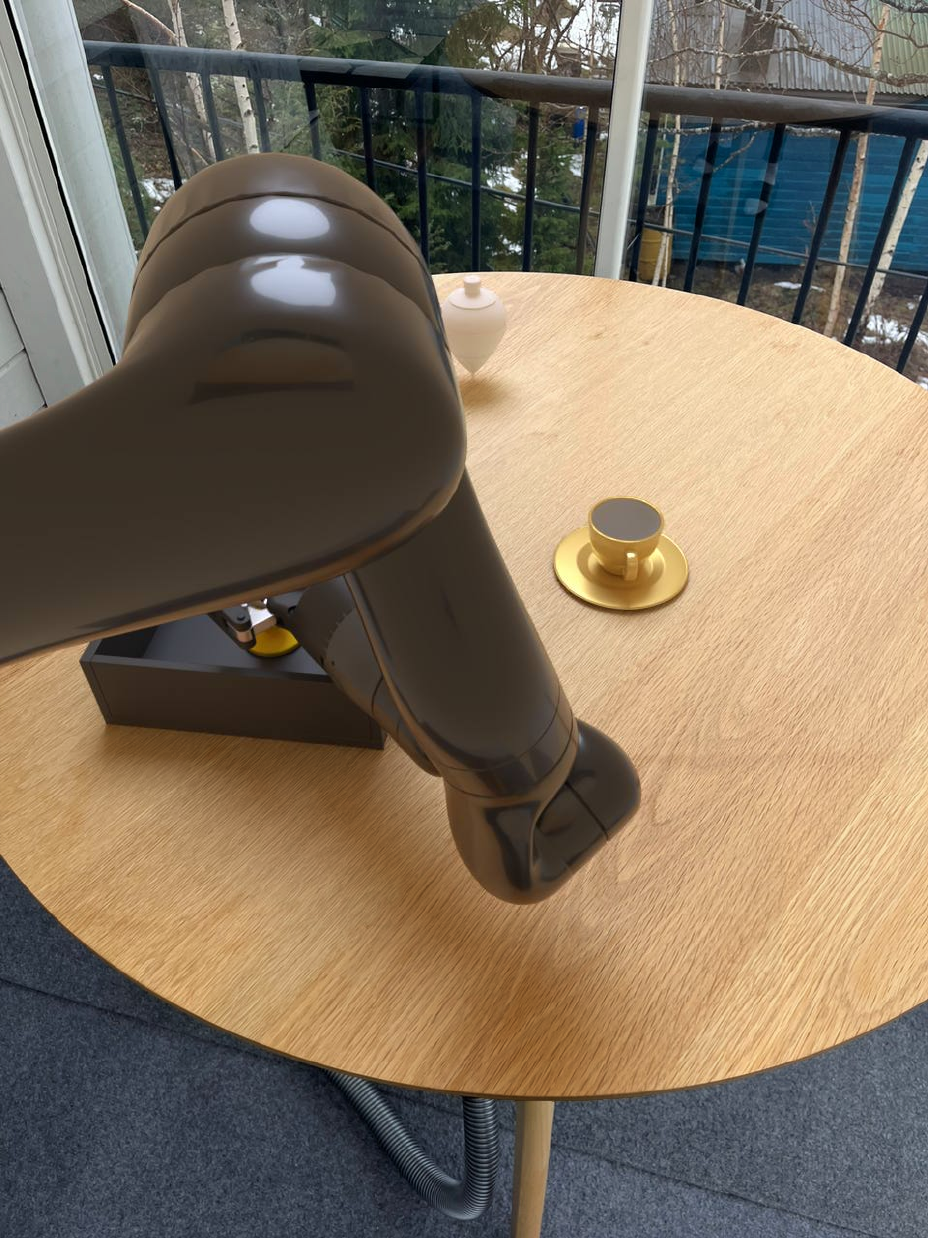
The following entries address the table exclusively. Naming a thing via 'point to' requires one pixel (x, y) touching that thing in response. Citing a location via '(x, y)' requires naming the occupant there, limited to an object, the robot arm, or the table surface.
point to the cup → (621, 557)
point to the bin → (220, 688)
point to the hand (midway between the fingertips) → (255, 521)
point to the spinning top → (473, 323)
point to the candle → (274, 642)
